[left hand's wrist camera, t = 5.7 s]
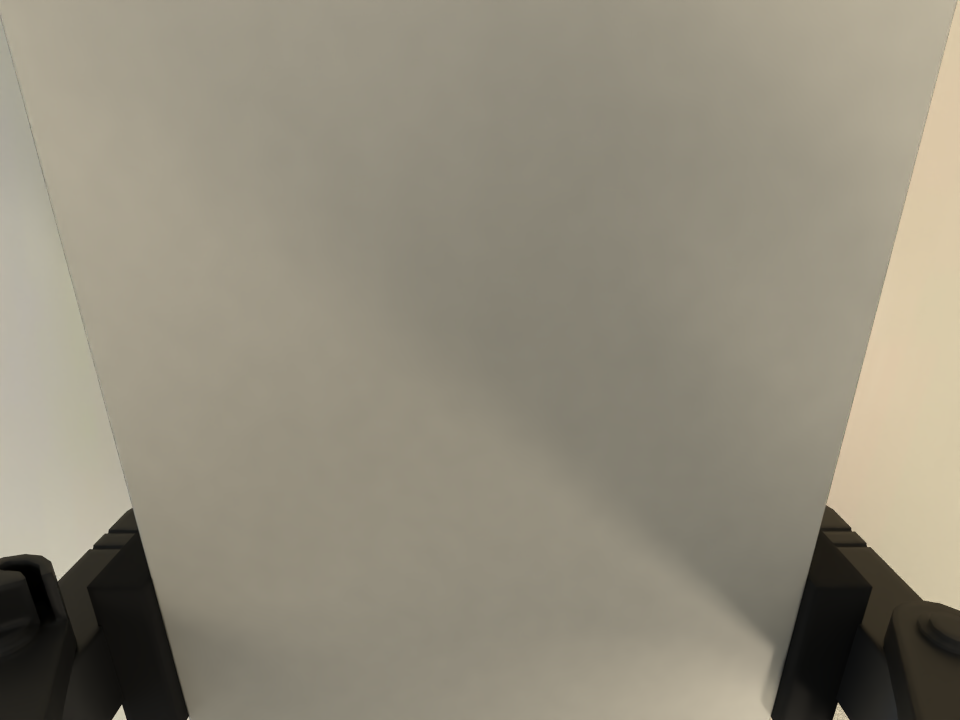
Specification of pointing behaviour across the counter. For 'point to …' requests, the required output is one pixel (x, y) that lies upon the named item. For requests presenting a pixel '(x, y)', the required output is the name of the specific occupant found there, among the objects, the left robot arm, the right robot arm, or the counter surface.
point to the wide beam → (478, 330)
